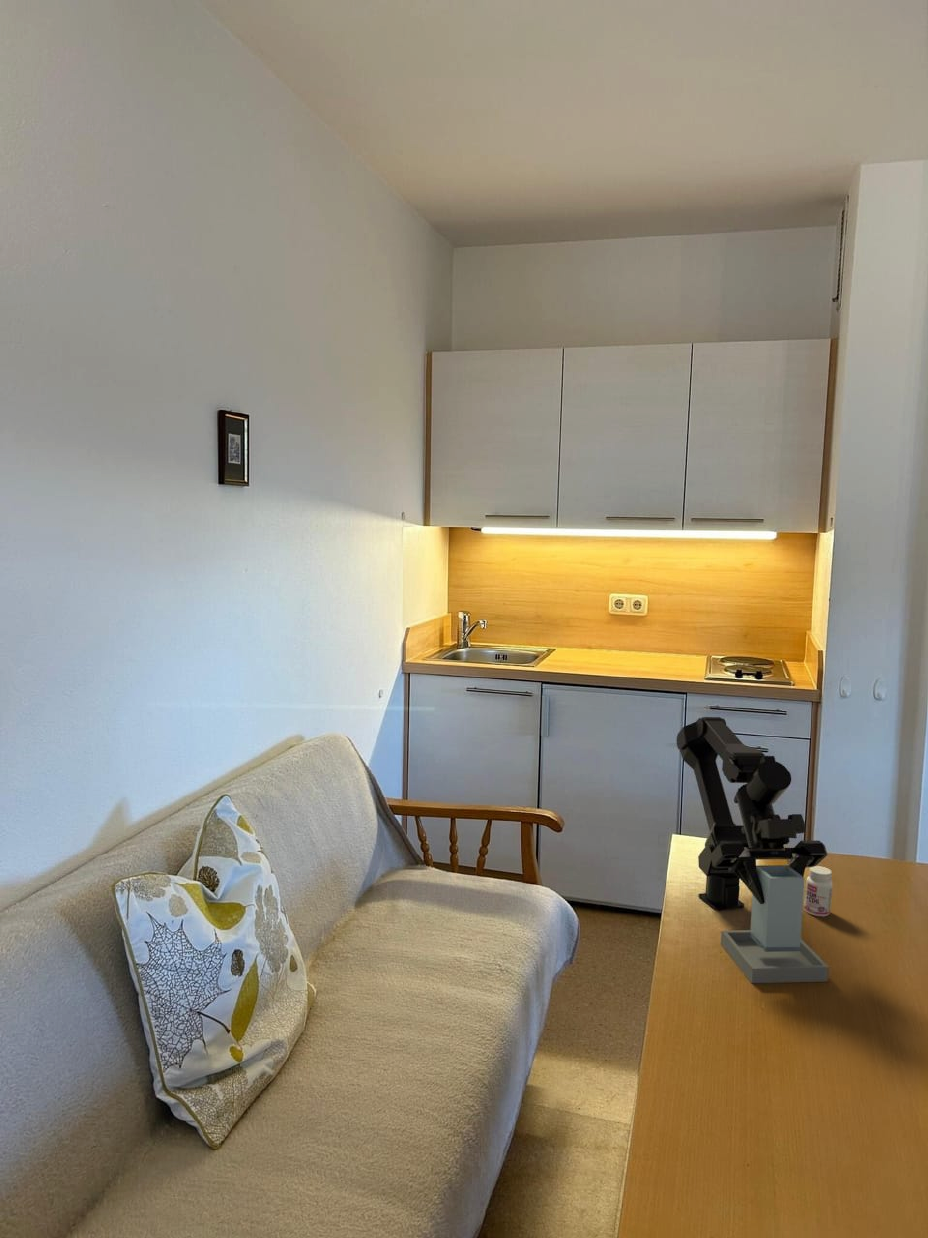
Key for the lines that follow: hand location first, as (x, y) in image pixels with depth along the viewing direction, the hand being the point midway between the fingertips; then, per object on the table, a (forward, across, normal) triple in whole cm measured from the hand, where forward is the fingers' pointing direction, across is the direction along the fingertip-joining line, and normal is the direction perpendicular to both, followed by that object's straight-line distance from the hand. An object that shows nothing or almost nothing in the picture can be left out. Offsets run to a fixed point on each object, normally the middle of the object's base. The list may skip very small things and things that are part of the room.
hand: (780, 903), depth 151 cm
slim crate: (+5, 0, +6) cm, 8 cm away
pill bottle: (-6, +18, +22) cm, 29 cm away
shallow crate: (+7, 0, +9) cm, 11 cm away
